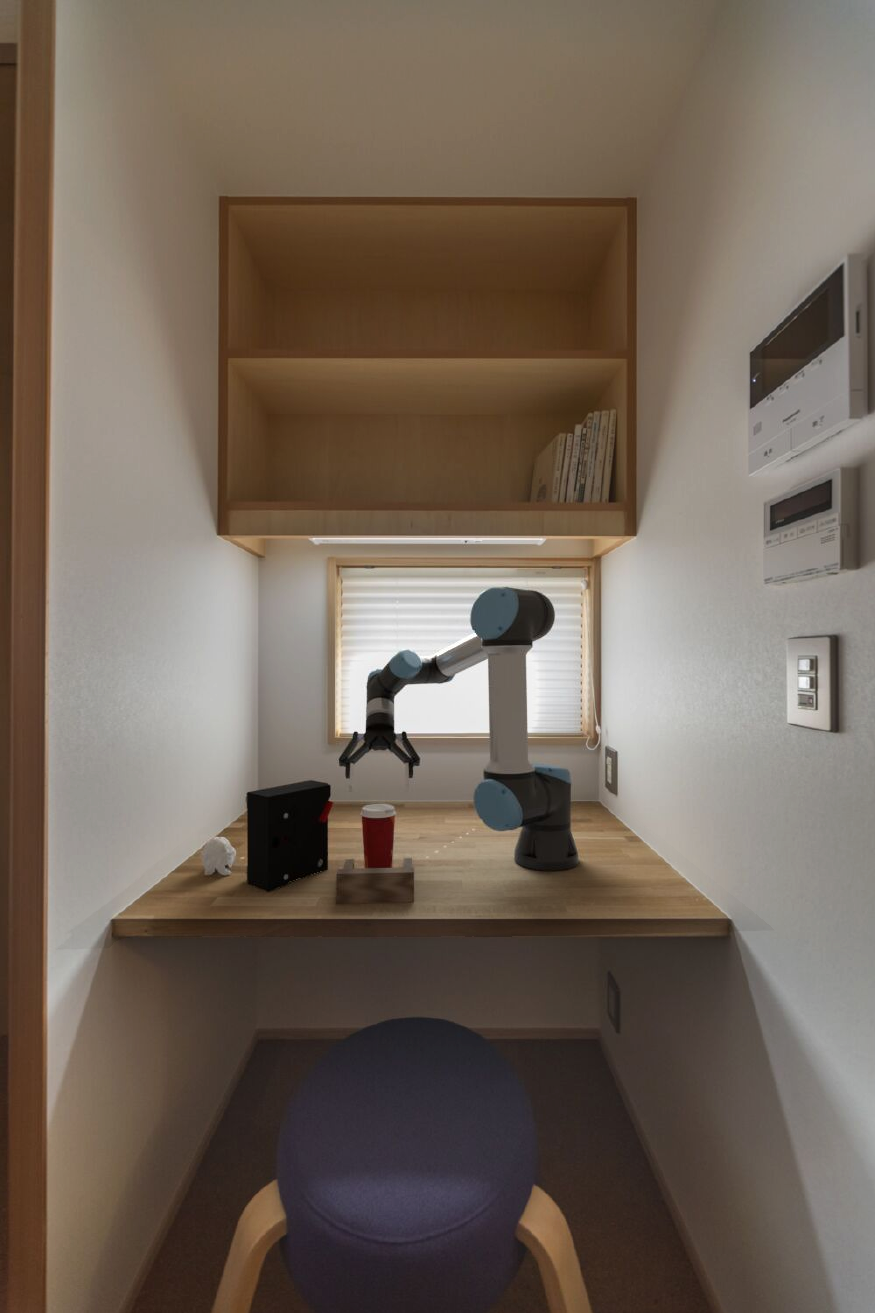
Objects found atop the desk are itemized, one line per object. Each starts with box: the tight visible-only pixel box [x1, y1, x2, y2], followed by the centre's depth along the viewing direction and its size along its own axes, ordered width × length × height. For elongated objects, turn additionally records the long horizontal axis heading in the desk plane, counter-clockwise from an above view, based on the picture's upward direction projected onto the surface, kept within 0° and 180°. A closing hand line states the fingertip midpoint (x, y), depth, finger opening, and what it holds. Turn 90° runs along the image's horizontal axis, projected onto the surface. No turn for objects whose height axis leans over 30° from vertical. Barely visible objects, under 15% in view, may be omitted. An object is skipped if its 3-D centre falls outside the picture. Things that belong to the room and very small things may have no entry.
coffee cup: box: [359, 803, 397, 868], centre depth 149 cm, size 8×8×15 cm
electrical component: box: [245, 779, 334, 893], centre depth 147 cm, size 18×10×20 cm, turn 141°
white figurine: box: [200, 836, 239, 877], centre depth 151 cm, size 6×8×12 cm
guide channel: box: [335, 857, 415, 905], centre depth 143 cm, size 16×22×6 cm
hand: (379, 788), depth 159 cm, fingers open, 13 cm apart
